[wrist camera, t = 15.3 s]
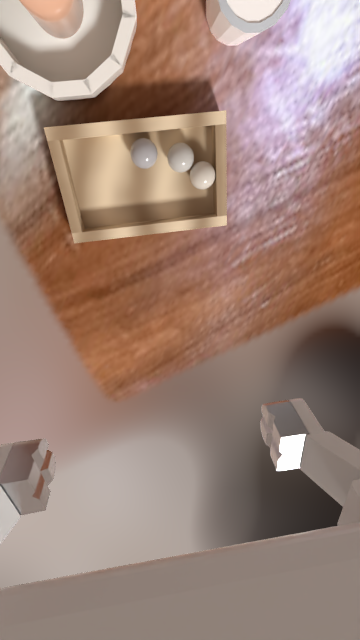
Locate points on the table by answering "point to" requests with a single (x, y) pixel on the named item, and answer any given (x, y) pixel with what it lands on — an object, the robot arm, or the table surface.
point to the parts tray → (138, 176)
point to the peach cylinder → (56, 15)
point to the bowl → (68, 49)
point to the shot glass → (242, 18)
